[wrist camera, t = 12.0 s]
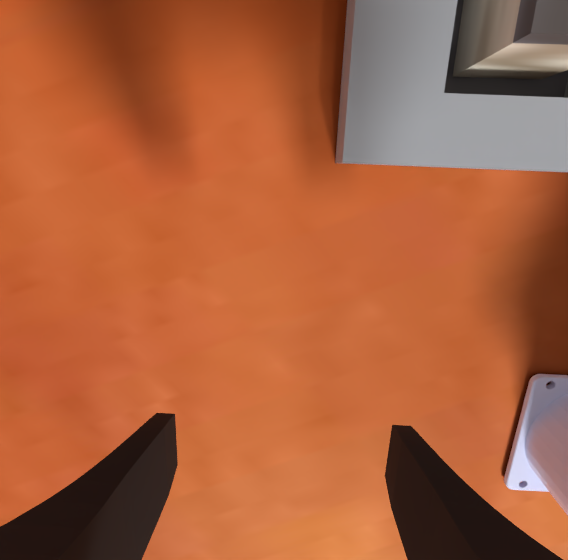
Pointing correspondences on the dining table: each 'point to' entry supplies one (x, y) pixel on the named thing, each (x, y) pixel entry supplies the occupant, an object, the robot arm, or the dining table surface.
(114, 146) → the dining table surface
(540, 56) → the peg
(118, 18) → the dining table surface
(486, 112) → the socket board
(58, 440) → the dining table surface
